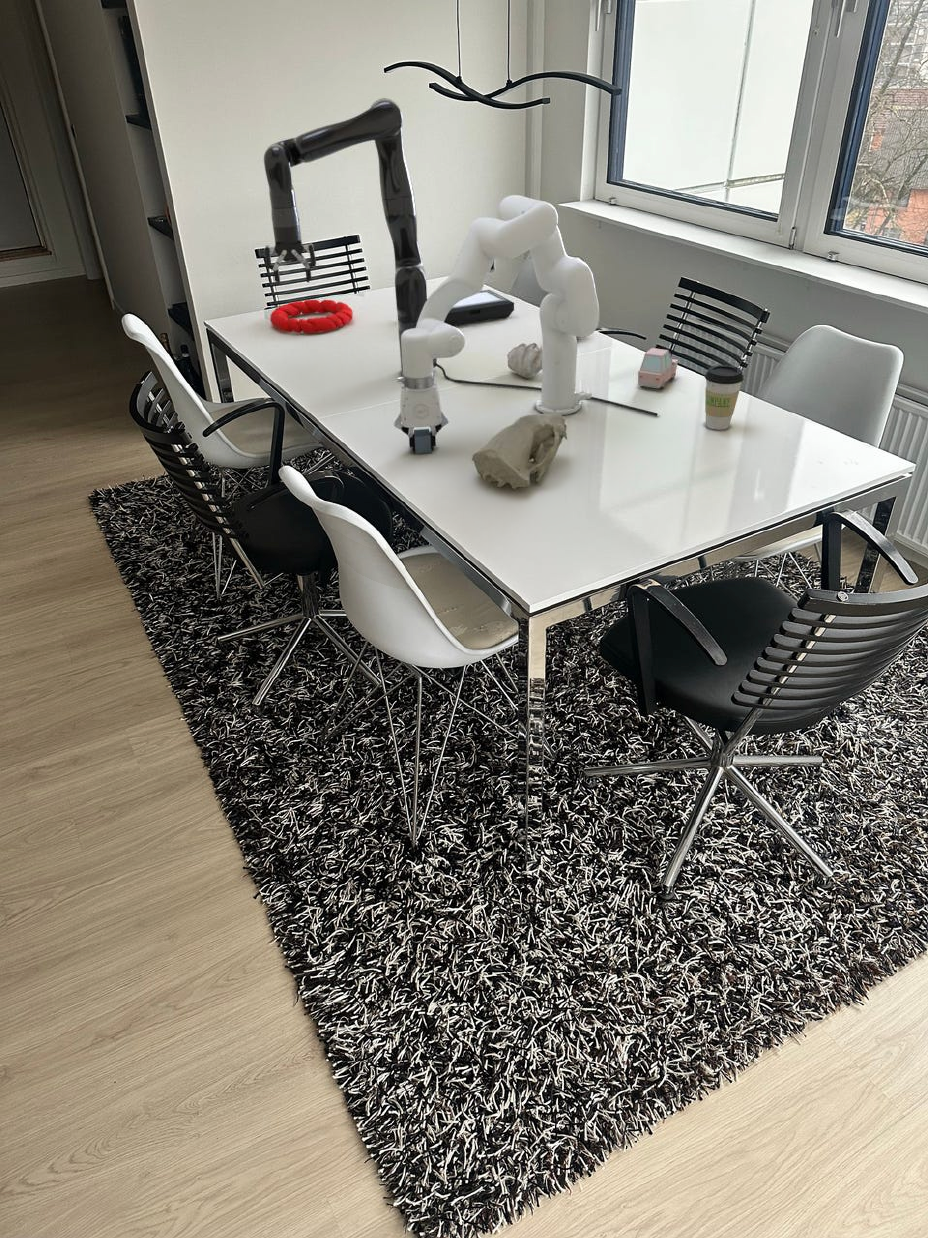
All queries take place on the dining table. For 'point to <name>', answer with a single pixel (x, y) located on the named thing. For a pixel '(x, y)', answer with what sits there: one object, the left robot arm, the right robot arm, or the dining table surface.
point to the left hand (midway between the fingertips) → (293, 282)
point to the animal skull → (521, 450)
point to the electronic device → (479, 309)
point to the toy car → (657, 368)
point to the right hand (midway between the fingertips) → (422, 448)
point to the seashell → (525, 360)
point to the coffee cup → (721, 395)
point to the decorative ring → (313, 324)
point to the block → (422, 441)
